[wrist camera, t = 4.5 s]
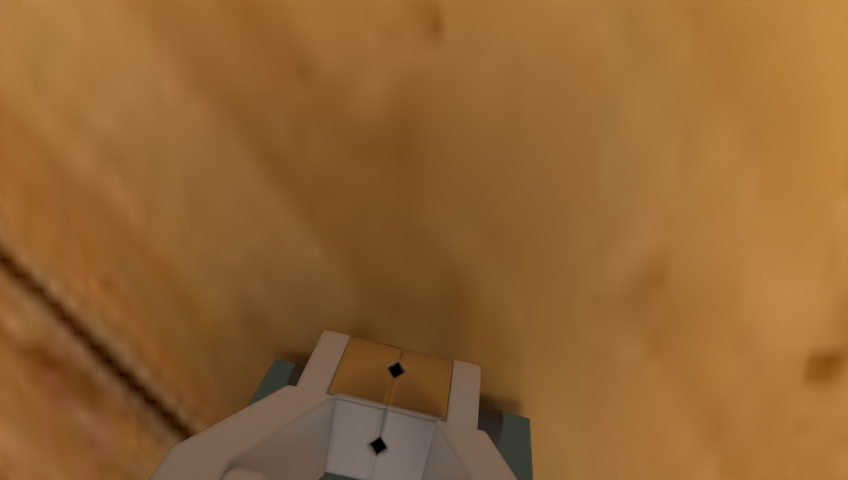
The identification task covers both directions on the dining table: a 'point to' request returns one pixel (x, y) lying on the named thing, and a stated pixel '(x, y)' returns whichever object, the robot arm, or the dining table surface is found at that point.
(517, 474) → the drawer
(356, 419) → the robot arm
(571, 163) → the dining table surface
